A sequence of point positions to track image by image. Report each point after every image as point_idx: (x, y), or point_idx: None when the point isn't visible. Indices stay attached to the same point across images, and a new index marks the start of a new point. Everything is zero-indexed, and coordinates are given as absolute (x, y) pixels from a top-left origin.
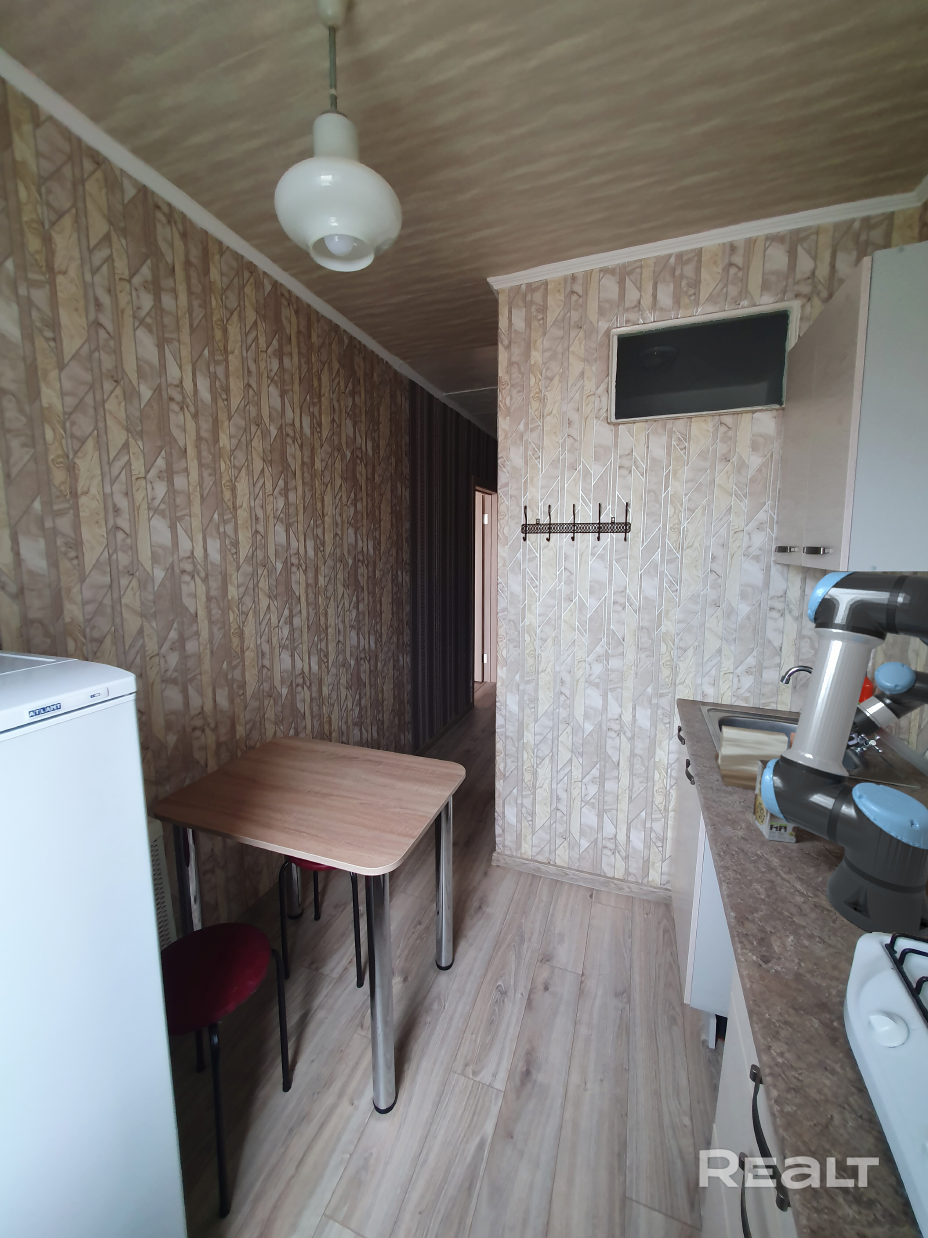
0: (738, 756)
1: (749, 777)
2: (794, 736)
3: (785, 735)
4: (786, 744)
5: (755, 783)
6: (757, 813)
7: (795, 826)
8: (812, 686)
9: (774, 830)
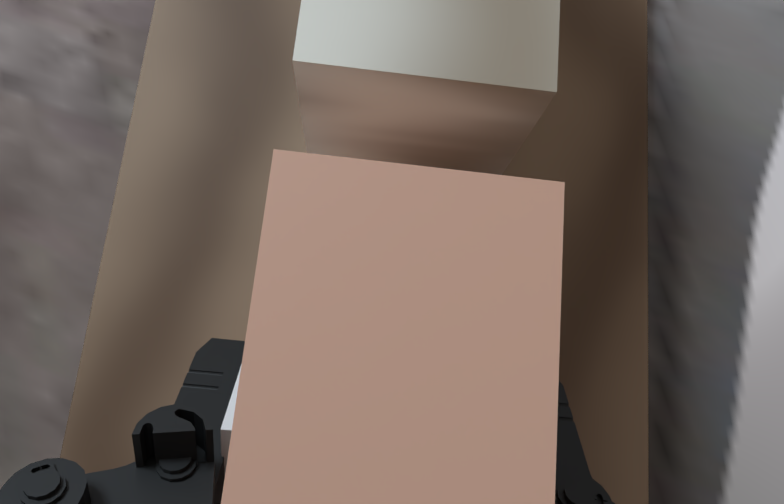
0: None
1: (271, 2)
2: (350, 163)
3: (448, 73)
4: (301, 100)
5: (179, 13)
6: None
7: None
8: None
9: None
